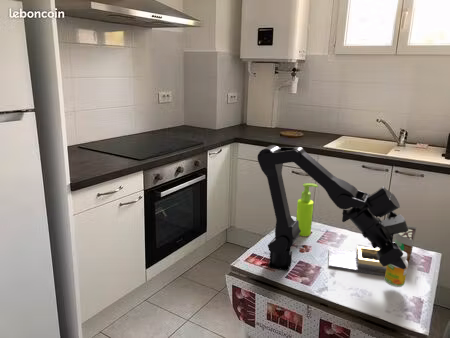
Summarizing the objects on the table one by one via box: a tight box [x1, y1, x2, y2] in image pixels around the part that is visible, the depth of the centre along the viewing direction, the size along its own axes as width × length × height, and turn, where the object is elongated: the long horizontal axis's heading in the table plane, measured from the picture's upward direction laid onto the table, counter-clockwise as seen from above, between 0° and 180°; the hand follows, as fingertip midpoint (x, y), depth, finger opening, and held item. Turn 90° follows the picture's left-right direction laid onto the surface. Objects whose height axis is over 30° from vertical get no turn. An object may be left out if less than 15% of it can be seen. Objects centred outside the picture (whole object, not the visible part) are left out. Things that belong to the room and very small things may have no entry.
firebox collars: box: [328, 245, 387, 277], centre depth 125 cm, size 19×12×4 cm, turn 74°
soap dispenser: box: [295, 182, 319, 237], centre depth 143 cm, size 6×7×20 cm
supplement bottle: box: [384, 251, 409, 288], centre depth 109 cm, size 5×5×10 cm
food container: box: [393, 225, 417, 267], centre depth 128 cm, size 12×6×10 cm, turn 149°
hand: (402, 262), depth 108 cm, fingers closed on supplement bottle, 5 cm apart
